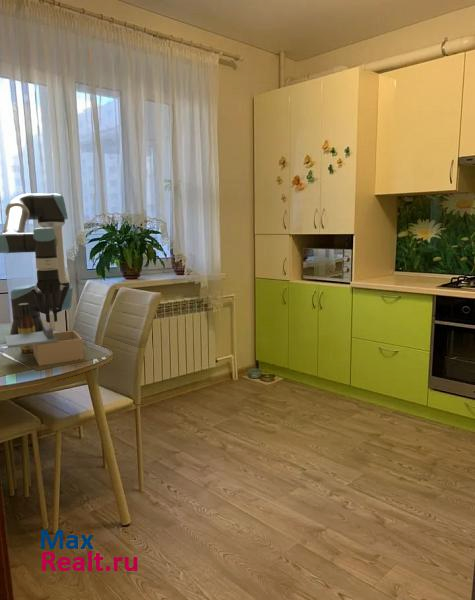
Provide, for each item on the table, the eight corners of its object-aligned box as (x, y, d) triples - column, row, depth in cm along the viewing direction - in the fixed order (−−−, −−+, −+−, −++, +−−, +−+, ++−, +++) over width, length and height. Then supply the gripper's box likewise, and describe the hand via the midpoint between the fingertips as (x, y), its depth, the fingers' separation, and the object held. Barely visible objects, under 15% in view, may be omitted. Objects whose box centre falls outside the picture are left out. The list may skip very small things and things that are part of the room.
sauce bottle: (31, 348, 196) (26, 301, 192) (40, 350, 193) (36, 302, 189) (16, 352, 190) (12, 304, 187) (26, 354, 187) (22, 305, 184)
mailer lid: (4, 337, 180) (3, 328, 179) (50, 332, 188) (50, 323, 188) (7, 348, 166) (6, 337, 165) (58, 341, 174) (57, 331, 173)
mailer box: (33, 355, 186) (32, 335, 185) (75, 349, 194) (74, 330, 192) (39, 365, 172) (37, 344, 171) (84, 358, 180) (82, 338, 179)
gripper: (29, 271, 170) (35, 334, 174) (67, 268, 176) (72, 330, 180) (27, 269, 176) (33, 330, 180) (63, 267, 183) (68, 326, 187)
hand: (52, 330), depth 180 cm, fingers closed
